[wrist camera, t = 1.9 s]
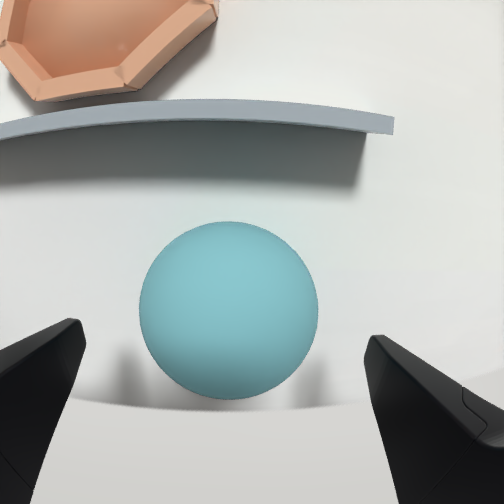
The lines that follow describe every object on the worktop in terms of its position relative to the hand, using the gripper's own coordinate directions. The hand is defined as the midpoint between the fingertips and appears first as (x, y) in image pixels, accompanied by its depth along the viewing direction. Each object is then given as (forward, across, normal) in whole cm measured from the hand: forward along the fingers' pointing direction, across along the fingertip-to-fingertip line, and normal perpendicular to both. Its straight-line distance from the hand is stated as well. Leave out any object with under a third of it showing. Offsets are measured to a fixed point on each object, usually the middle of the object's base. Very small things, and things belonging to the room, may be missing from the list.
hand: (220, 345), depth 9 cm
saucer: (+5, +6, -12) cm, 15 cm away
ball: (+2, 0, 0) cm, 2 cm away
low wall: (+5, +4, -6) cm, 9 cm away
